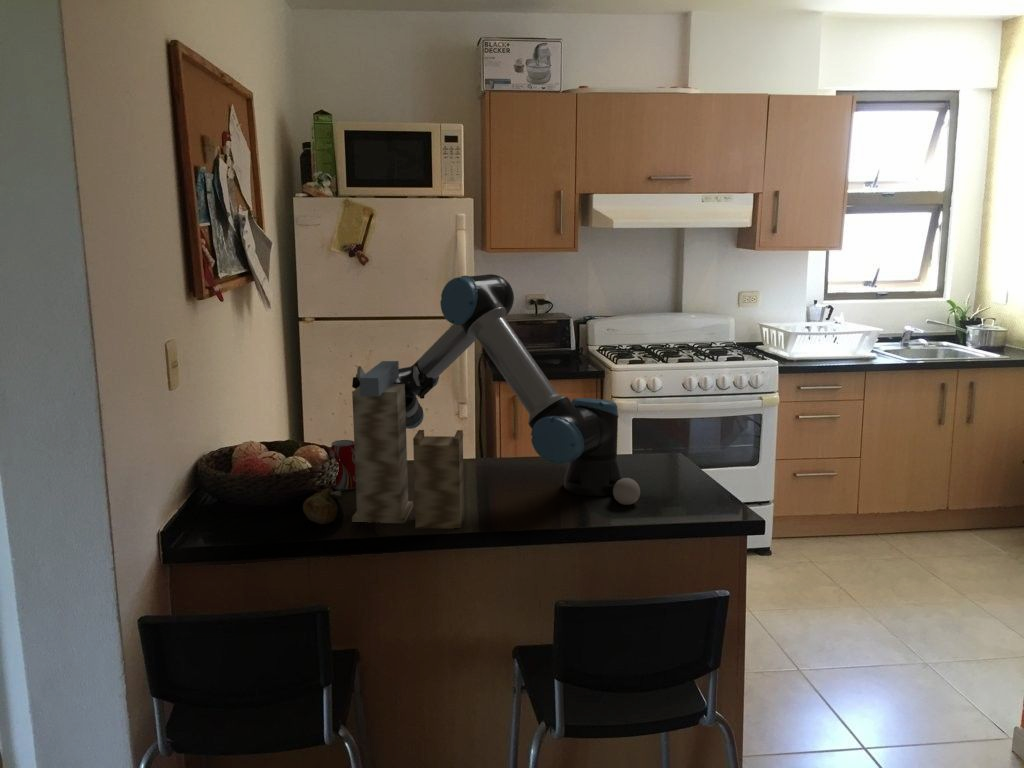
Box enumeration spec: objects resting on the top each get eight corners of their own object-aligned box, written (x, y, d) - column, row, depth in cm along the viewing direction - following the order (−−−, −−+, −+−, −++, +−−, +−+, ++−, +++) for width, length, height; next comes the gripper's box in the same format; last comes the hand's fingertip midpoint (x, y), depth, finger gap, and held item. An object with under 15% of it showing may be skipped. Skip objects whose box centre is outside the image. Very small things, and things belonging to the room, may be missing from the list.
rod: (398, 377, 203) (398, 361, 202) (378, 396, 179) (378, 378, 179) (382, 377, 203) (382, 361, 202) (360, 396, 180) (359, 378, 179)
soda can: (352, 492, 211) (350, 446, 209) (326, 491, 212) (324, 445, 210) (362, 484, 218) (361, 439, 216) (337, 483, 219) (335, 438, 217)
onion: (314, 515, 194) (313, 482, 193) (345, 518, 192) (344, 485, 190) (296, 526, 187) (295, 492, 186) (328, 530, 185) (326, 495, 183)
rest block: (464, 516, 193) (462, 430, 189) (460, 528, 185) (458, 438, 181) (421, 515, 193) (418, 429, 190) (415, 528, 185) (413, 438, 182)
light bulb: (605, 475, 208) (619, 475, 197) (631, 479, 209) (645, 479, 198) (602, 502, 207) (615, 503, 197) (627, 505, 208) (642, 507, 198)
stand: (413, 506, 200) (409, 383, 195) (404, 523, 188) (400, 393, 183) (363, 505, 201) (358, 383, 195) (352, 522, 189) (346, 392, 184)
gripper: (448, 413, 218) (437, 386, 198) (354, 413, 220) (334, 386, 200) (449, 386, 221) (439, 357, 201) (356, 386, 222) (336, 356, 202)
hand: (386, 371), depth 200 cm, fingers open, 13 cm apart
